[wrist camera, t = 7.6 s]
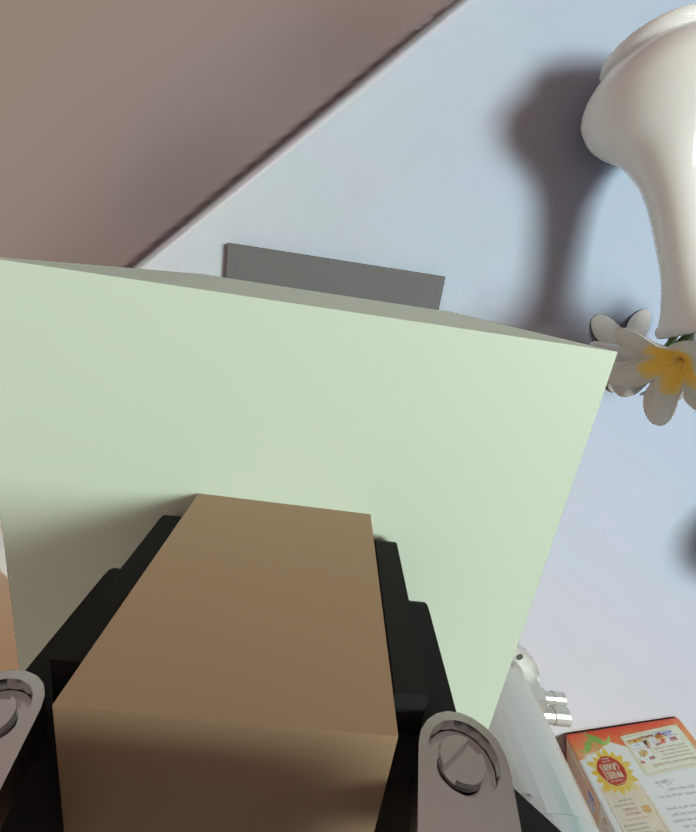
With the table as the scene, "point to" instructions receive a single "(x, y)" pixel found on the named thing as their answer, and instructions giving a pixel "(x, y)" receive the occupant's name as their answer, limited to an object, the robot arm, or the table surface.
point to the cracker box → (637, 776)
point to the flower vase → (654, 200)
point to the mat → (333, 276)
